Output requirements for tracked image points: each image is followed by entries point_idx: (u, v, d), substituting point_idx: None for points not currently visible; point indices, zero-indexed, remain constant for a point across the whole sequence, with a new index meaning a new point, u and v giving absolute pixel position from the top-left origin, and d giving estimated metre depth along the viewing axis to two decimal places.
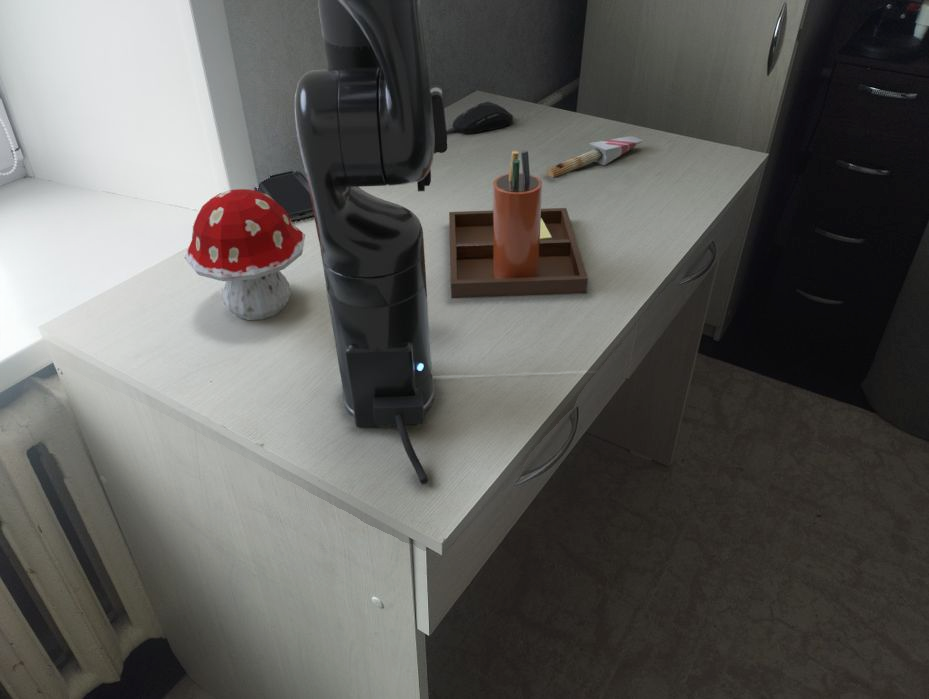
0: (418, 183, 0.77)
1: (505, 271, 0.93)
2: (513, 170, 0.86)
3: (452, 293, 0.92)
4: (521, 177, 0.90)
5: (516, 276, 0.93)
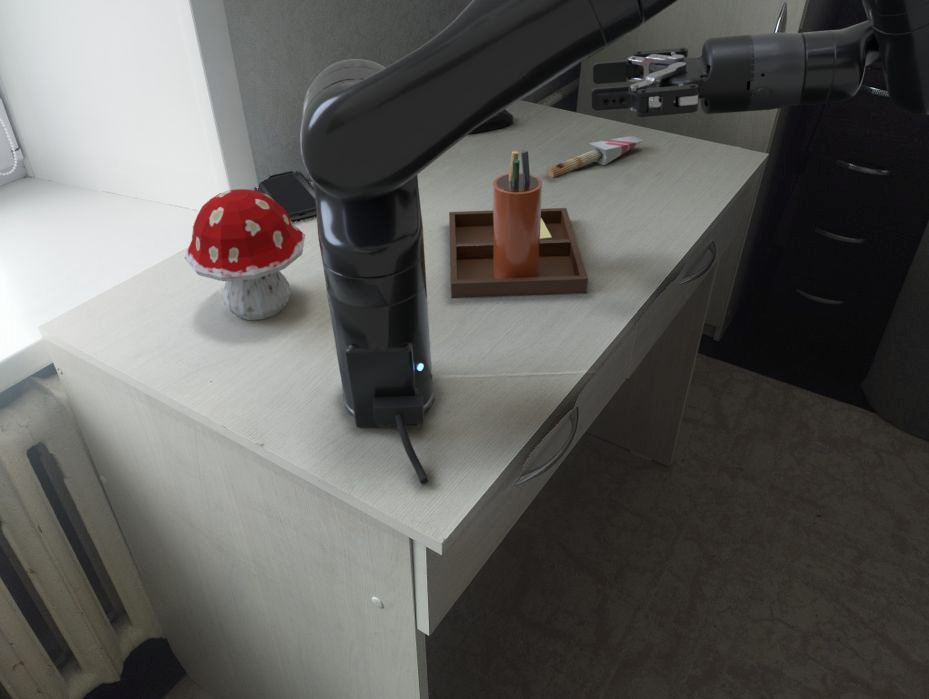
0: None
1: (505, 271, 0.93)
2: (513, 170, 0.86)
3: (452, 293, 0.92)
4: (521, 177, 0.90)
5: (516, 276, 0.93)
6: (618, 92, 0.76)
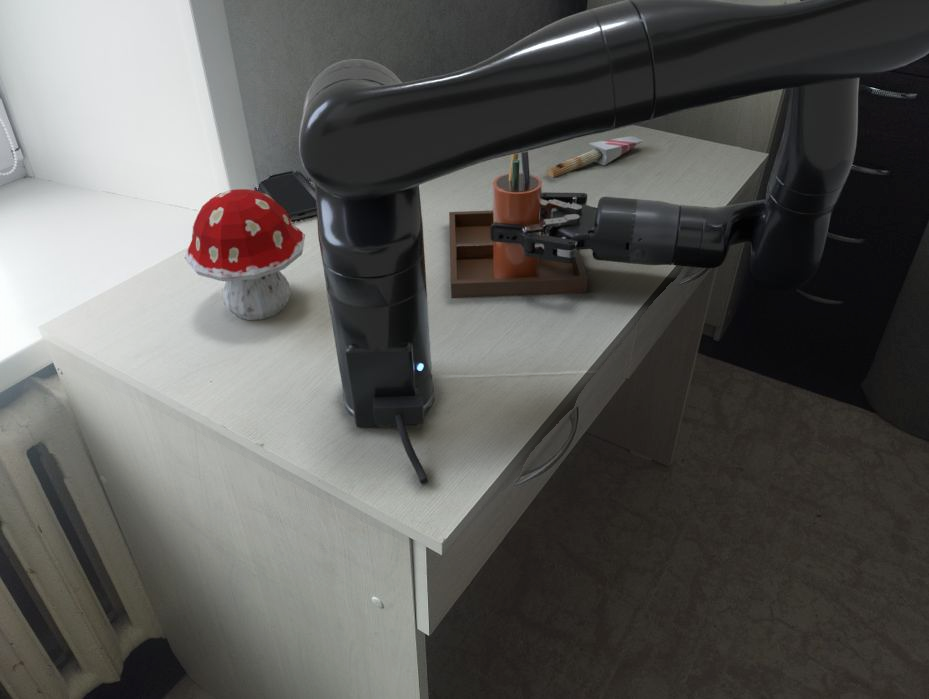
0: (500, 223, 0.89)
1: (505, 271, 0.93)
2: (513, 170, 0.86)
3: (452, 293, 0.92)
4: (521, 177, 0.90)
5: (516, 276, 0.93)
6: (512, 231, 0.88)
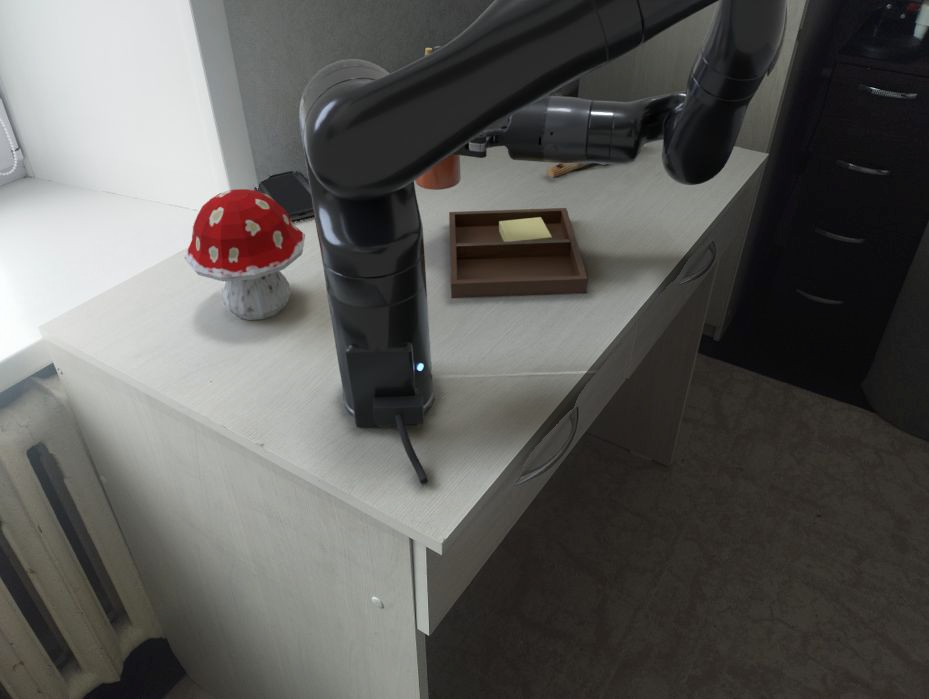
0: None
1: (424, 174, 0.93)
2: None
3: (452, 293, 0.92)
4: None
5: (435, 179, 0.93)
6: None
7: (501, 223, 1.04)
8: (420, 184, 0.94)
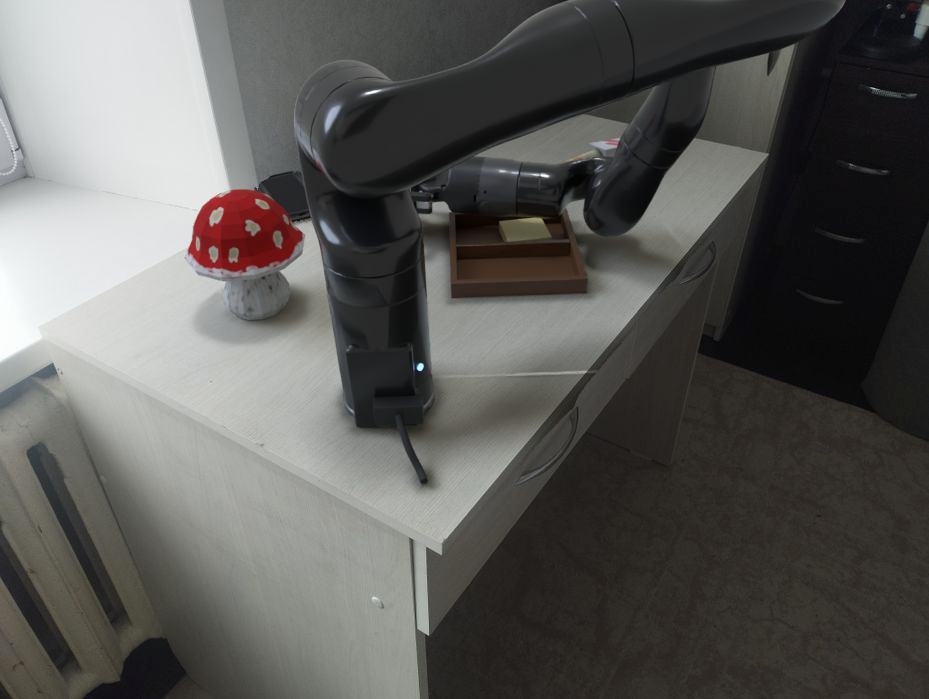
0: None
1: None
2: None
3: (452, 293, 0.92)
4: None
5: None
6: None
7: (501, 223, 1.04)
8: None
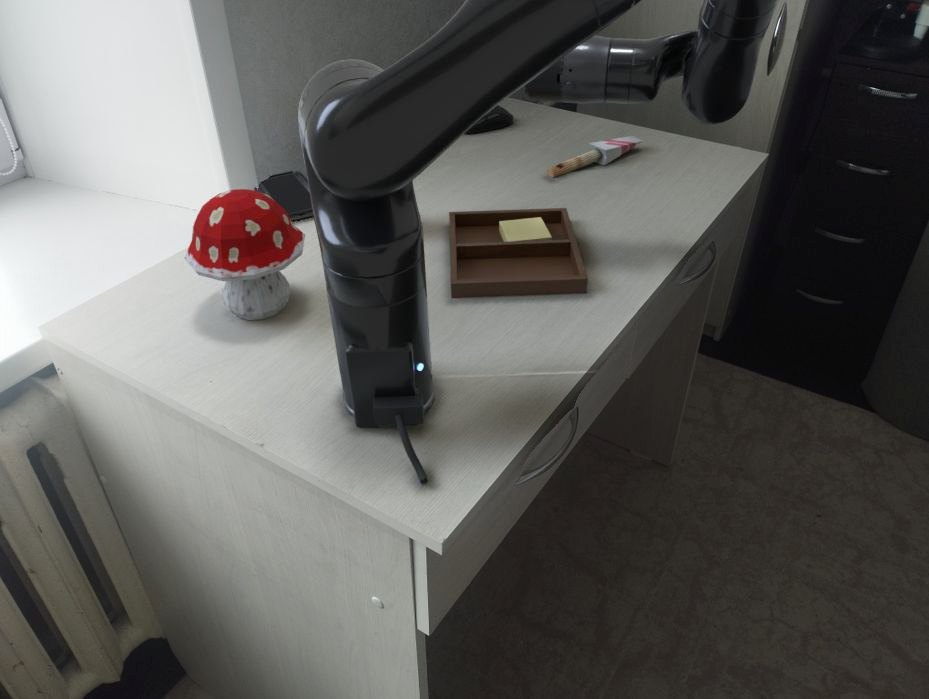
0: None
1: None
2: None
3: (452, 293, 0.92)
4: None
5: None
6: None
7: (501, 223, 1.04)
8: None
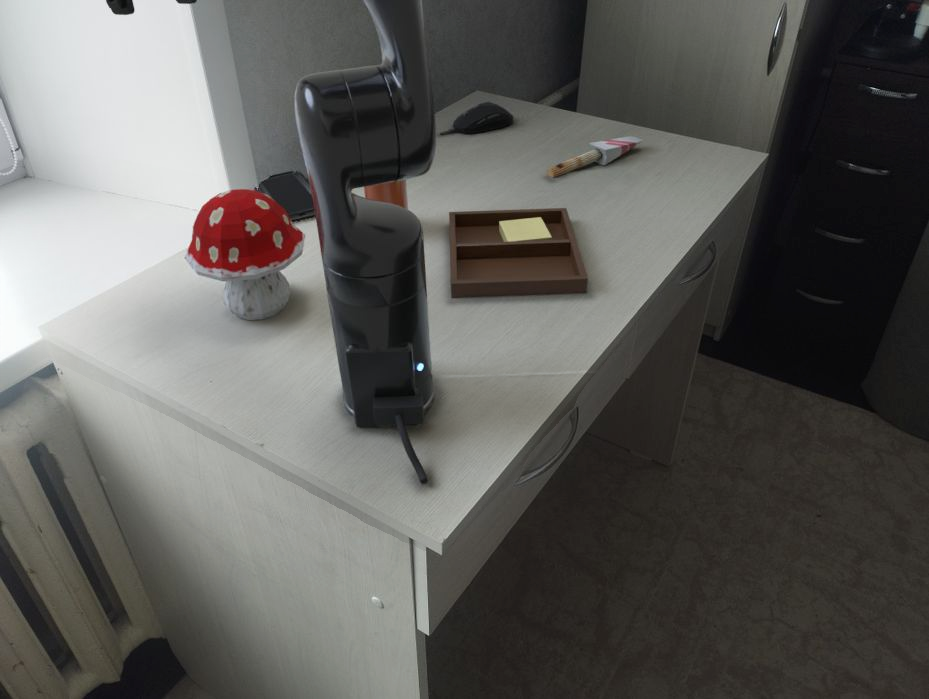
0: None
1: None
2: None
3: (452, 293, 0.92)
4: None
5: None
6: None
7: (501, 223, 1.04)
8: None
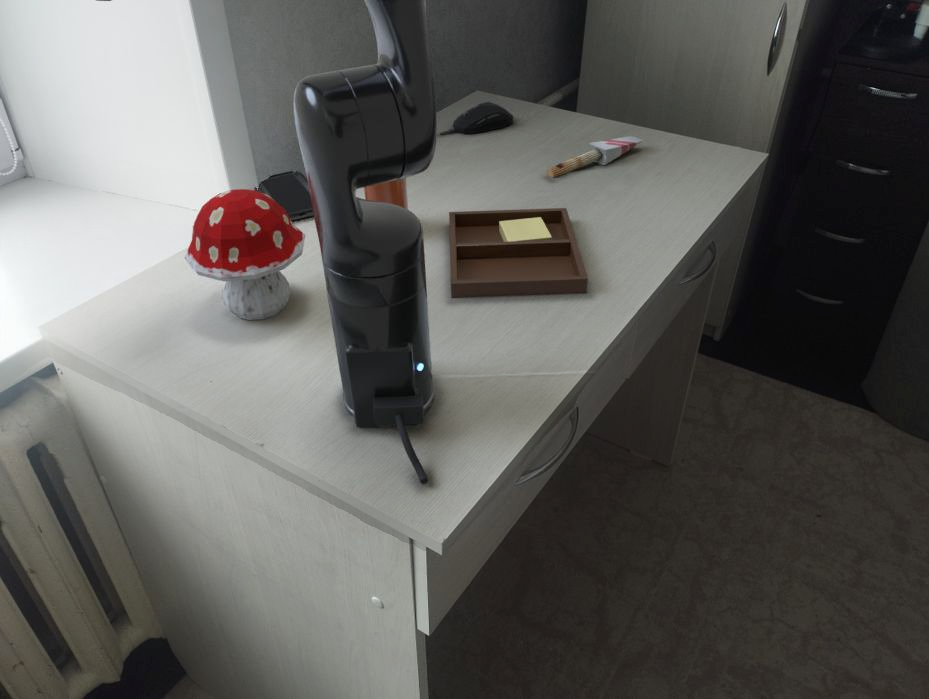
0: None
1: None
2: None
3: (452, 293, 0.92)
4: None
5: None
6: None
7: (501, 223, 1.04)
8: None
